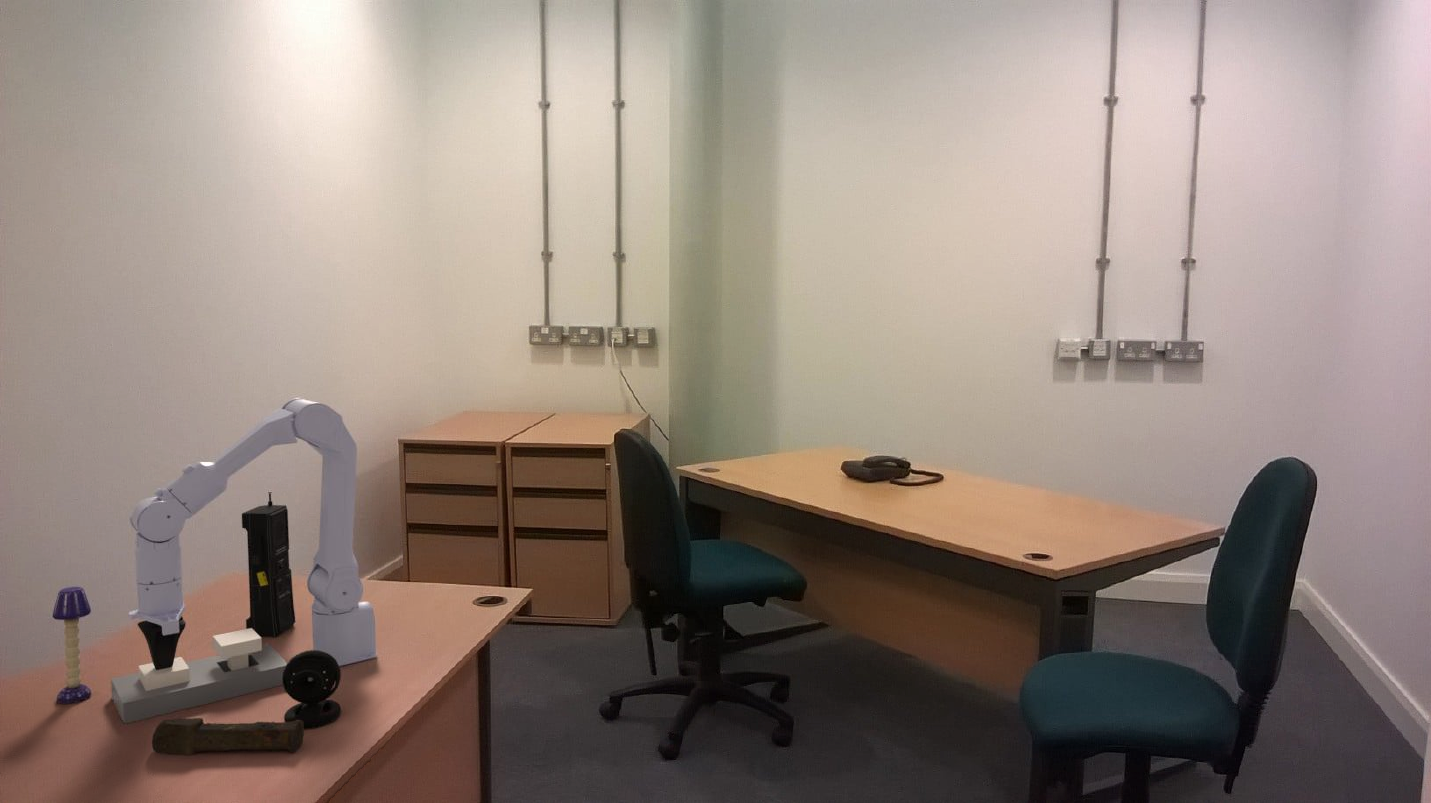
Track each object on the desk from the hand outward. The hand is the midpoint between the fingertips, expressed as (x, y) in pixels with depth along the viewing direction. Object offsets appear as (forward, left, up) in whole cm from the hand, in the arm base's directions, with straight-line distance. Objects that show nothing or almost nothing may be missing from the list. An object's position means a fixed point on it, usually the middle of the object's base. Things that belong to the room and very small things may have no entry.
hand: (163, 667), depth 134 cm
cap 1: (0, 0, -5) cm, 5 cm away
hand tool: (-3, +23, -5) cm, 24 cm away
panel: (-5, 0, -5) cm, 7 cm away
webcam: (-15, +20, -5) cm, 26 cm away
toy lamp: (+10, -9, -5) cm, 14 cm away
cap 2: (-10, 0, -2) cm, 10 cm away
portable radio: (-20, -20, -5) cm, 29 cm away
